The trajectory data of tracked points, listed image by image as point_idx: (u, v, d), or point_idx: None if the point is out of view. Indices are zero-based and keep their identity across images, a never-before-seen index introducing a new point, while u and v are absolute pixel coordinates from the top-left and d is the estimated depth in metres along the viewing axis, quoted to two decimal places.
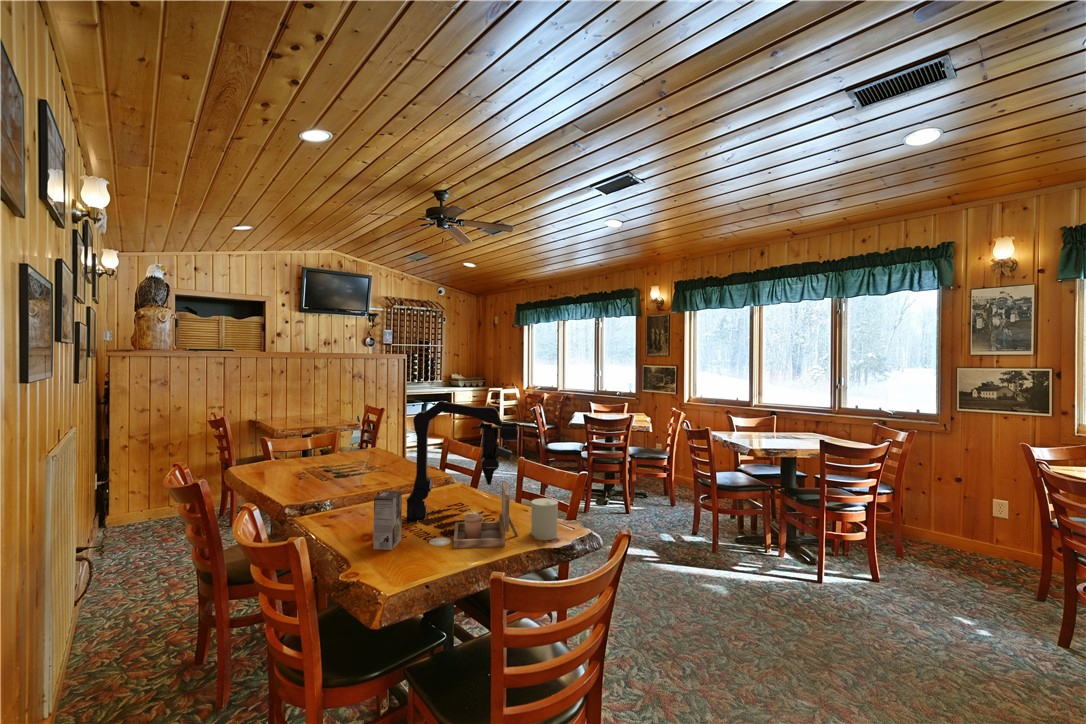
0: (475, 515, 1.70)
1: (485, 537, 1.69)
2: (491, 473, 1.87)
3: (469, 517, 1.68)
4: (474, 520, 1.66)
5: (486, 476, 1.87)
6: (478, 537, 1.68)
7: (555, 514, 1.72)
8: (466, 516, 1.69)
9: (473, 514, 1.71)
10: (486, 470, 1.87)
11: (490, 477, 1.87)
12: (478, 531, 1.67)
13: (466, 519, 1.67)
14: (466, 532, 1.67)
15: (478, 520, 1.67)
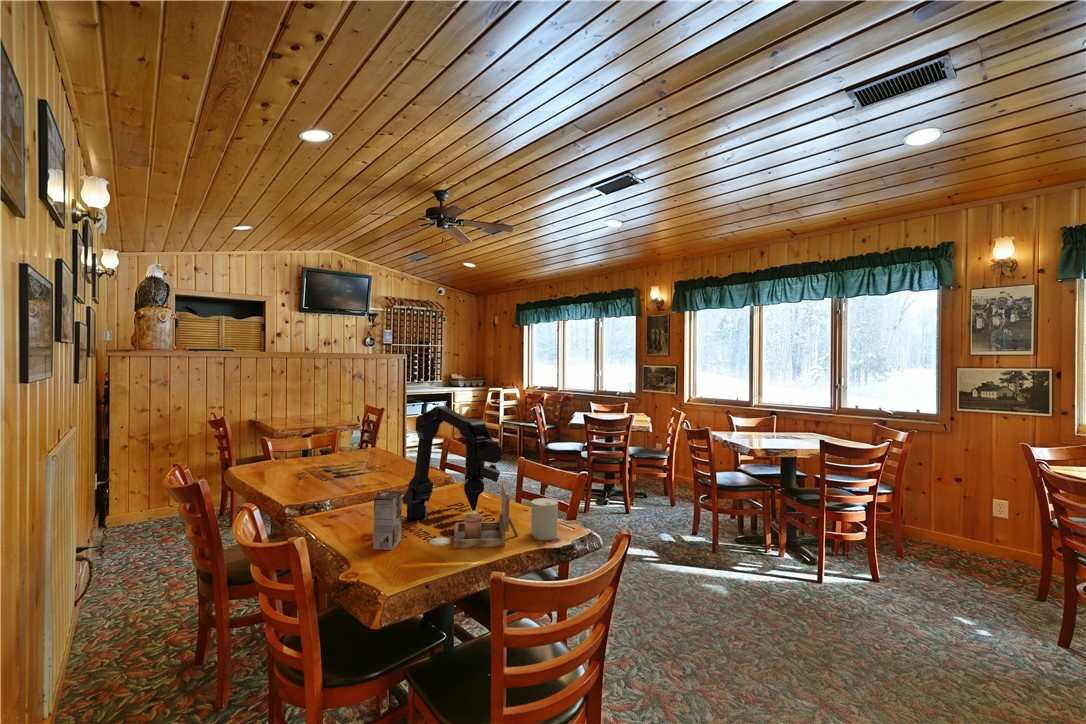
0: (475, 515, 1.70)
1: (485, 537, 1.69)
2: (476, 497, 1.64)
3: (469, 517, 1.68)
4: (474, 520, 1.66)
5: (470, 501, 1.64)
6: (478, 537, 1.68)
7: (555, 514, 1.72)
8: (466, 516, 1.69)
9: (473, 514, 1.71)
10: (470, 494, 1.63)
11: (475, 502, 1.64)
12: (478, 531, 1.67)
13: (466, 519, 1.67)
14: (466, 532, 1.67)
15: (478, 520, 1.67)
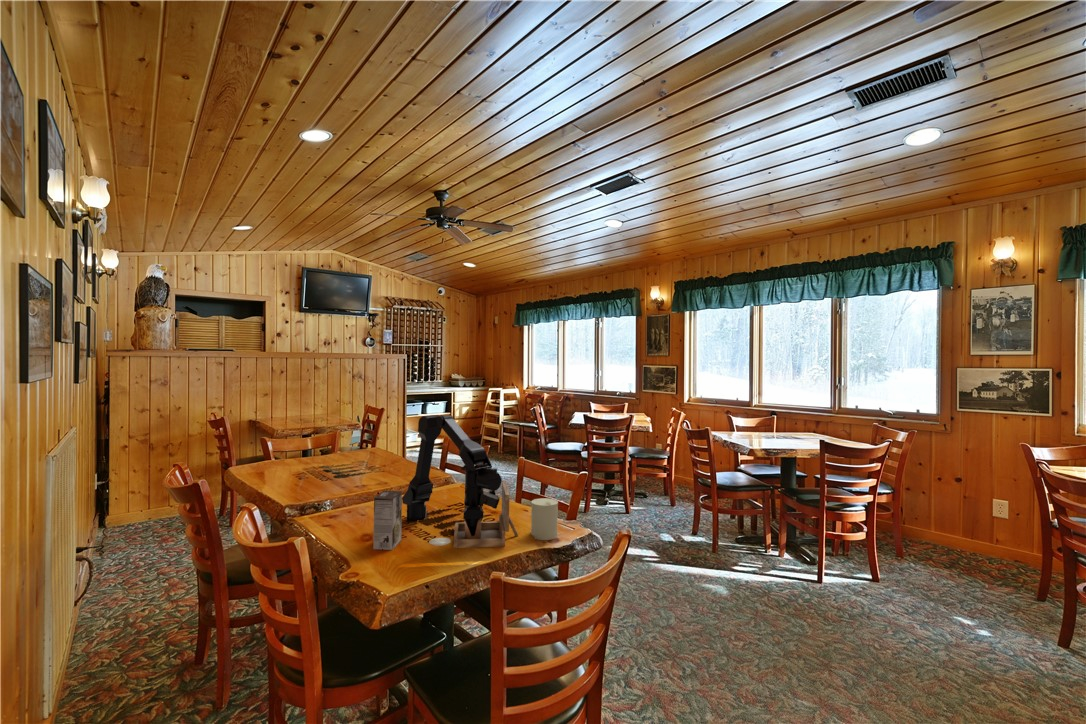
0: None
1: (485, 537, 1.69)
2: (475, 523, 1.65)
3: None
4: None
5: (469, 526, 1.65)
6: (478, 537, 1.68)
7: (555, 514, 1.72)
8: None
9: None
10: (469, 520, 1.65)
11: (474, 527, 1.65)
12: (478, 531, 1.67)
13: None
14: (466, 532, 1.67)
15: None
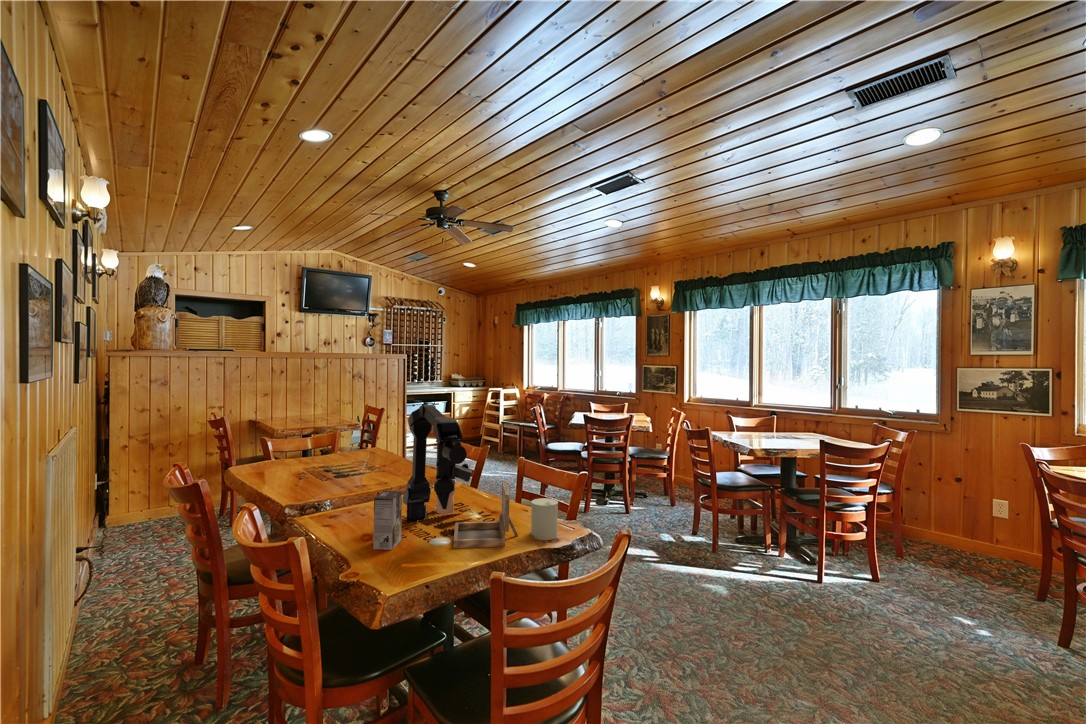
0: None
1: (485, 537, 1.69)
2: (446, 496, 1.61)
3: None
4: None
5: (441, 499, 1.61)
6: (450, 511, 1.64)
7: (555, 514, 1.72)
8: None
9: None
10: (440, 493, 1.61)
11: (445, 500, 1.62)
12: (450, 505, 1.64)
13: None
14: (438, 506, 1.64)
15: (450, 493, 1.63)
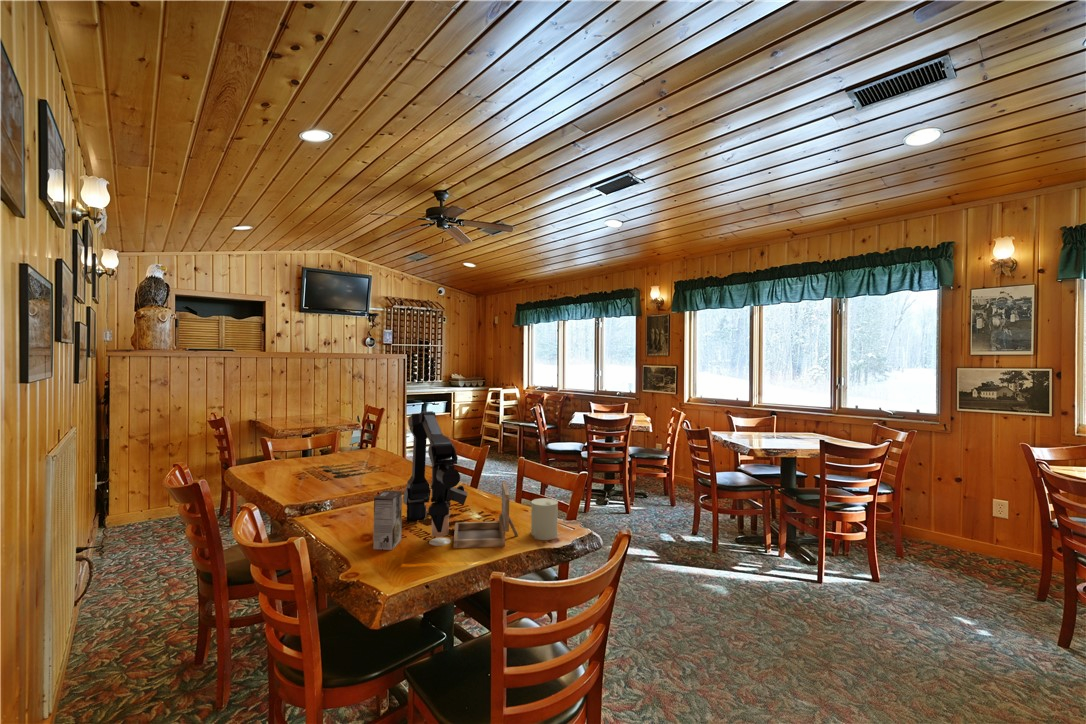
0: None
1: (485, 537, 1.69)
2: (441, 519, 1.61)
3: None
4: None
5: (435, 522, 1.61)
6: (445, 534, 1.63)
7: (555, 514, 1.72)
8: None
9: None
10: (435, 516, 1.60)
11: (440, 524, 1.61)
12: (445, 528, 1.63)
13: None
14: (433, 528, 1.63)
15: (445, 516, 1.63)
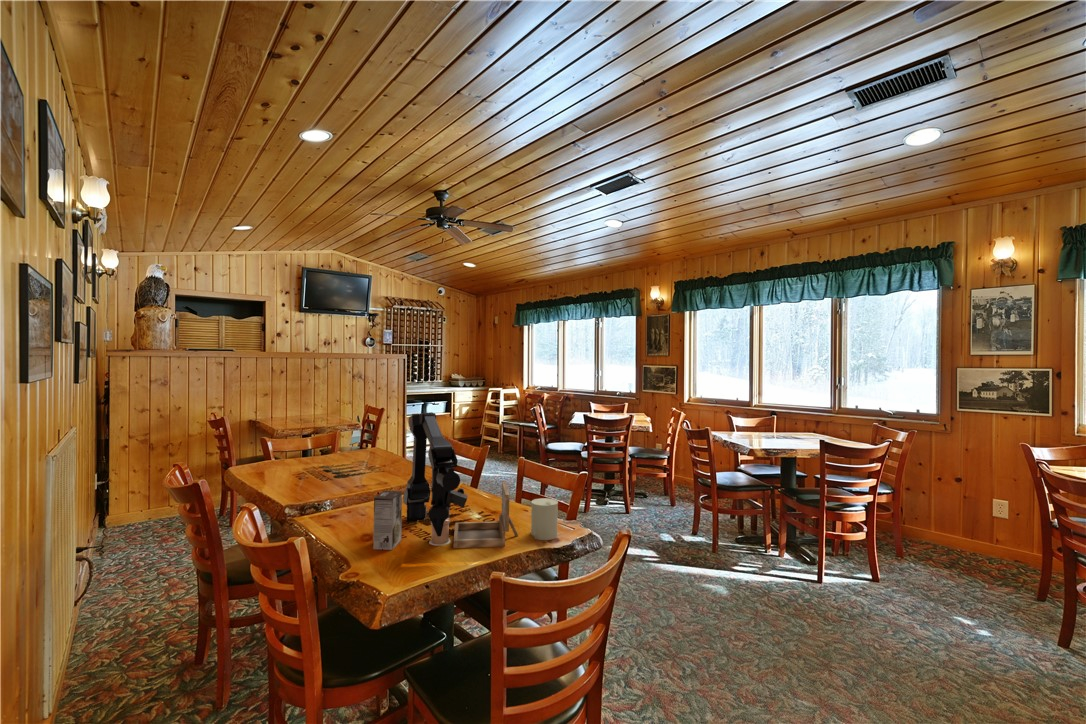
0: None
1: (485, 537, 1.69)
2: (441, 523, 1.60)
3: None
4: None
5: (435, 526, 1.60)
6: (445, 541, 1.63)
7: (555, 514, 1.72)
8: None
9: None
10: (435, 520, 1.59)
11: (440, 528, 1.60)
12: (445, 535, 1.63)
13: None
14: (433, 536, 1.63)
15: (445, 524, 1.63)
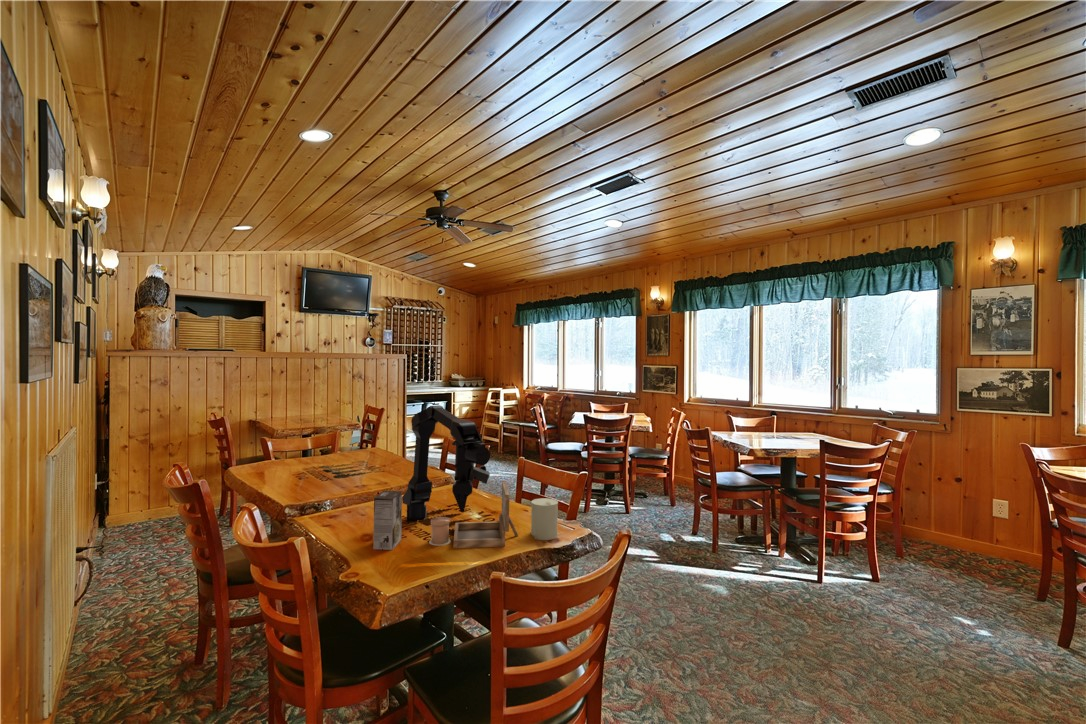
0: (442, 519, 1.65)
1: (485, 537, 1.69)
2: (464, 499, 1.63)
3: (436, 521, 1.63)
4: (440, 524, 1.62)
5: (458, 502, 1.63)
6: (445, 541, 1.63)
7: (555, 514, 1.72)
8: (433, 520, 1.64)
9: (440, 518, 1.66)
10: (458, 495, 1.63)
11: (463, 503, 1.64)
12: (445, 535, 1.63)
13: (432, 523, 1.63)
14: (433, 536, 1.63)
15: (445, 524, 1.63)
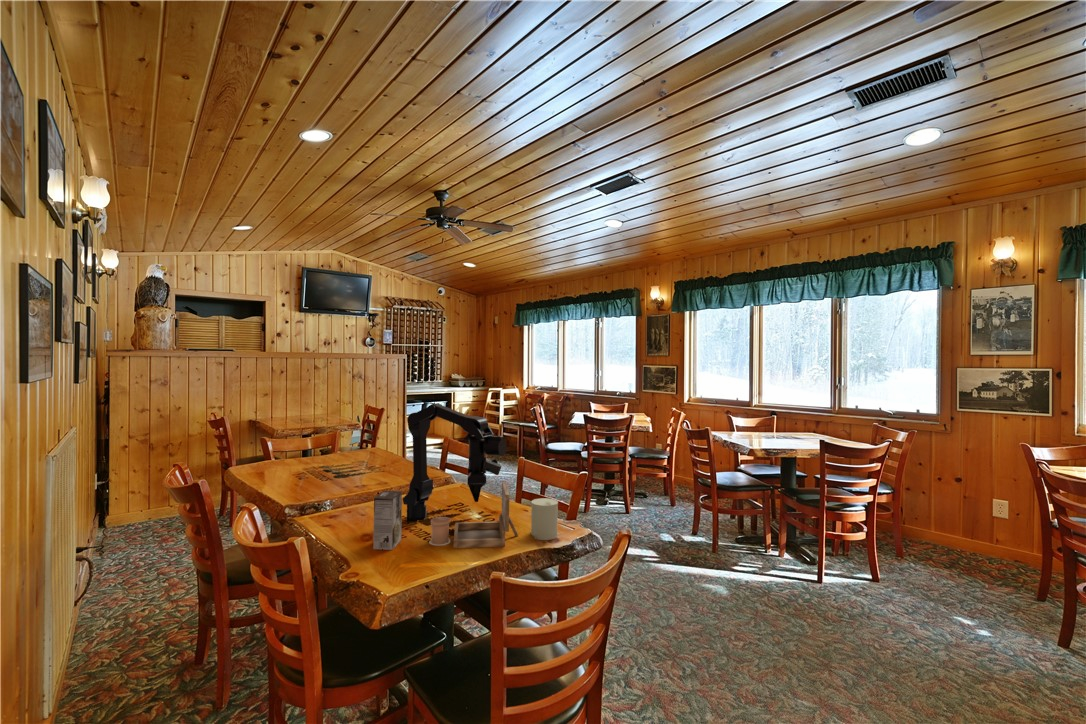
0: (442, 519, 1.65)
1: (485, 537, 1.69)
2: (478, 489, 1.74)
3: (436, 521, 1.63)
4: (441, 524, 1.62)
5: (473, 493, 1.73)
6: (445, 541, 1.63)
7: (555, 514, 1.72)
8: (433, 520, 1.64)
9: (440, 518, 1.67)
10: (473, 486, 1.73)
11: (477, 494, 1.74)
12: (445, 535, 1.63)
13: (432, 523, 1.63)
14: (433, 536, 1.63)
15: (445, 524, 1.63)
